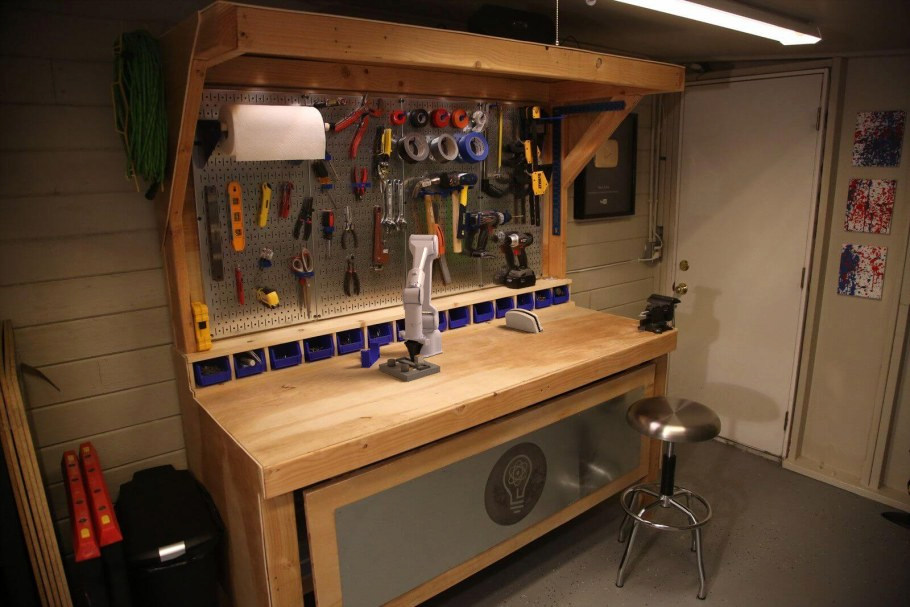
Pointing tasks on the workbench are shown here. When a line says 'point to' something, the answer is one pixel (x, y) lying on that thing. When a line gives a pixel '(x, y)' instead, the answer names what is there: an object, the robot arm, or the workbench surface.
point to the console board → (411, 373)
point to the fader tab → (419, 360)
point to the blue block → (370, 355)
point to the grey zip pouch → (523, 320)
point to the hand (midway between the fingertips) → (414, 361)
